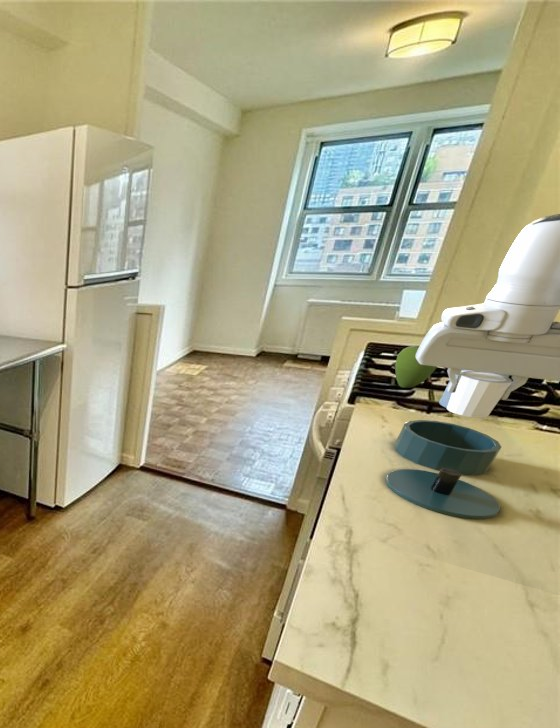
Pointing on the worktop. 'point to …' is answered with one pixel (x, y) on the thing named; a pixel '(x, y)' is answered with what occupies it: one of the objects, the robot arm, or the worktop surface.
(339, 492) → the worktop surface
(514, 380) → the robot arm
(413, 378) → the green mango
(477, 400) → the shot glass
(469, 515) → the lid
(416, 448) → the pot
